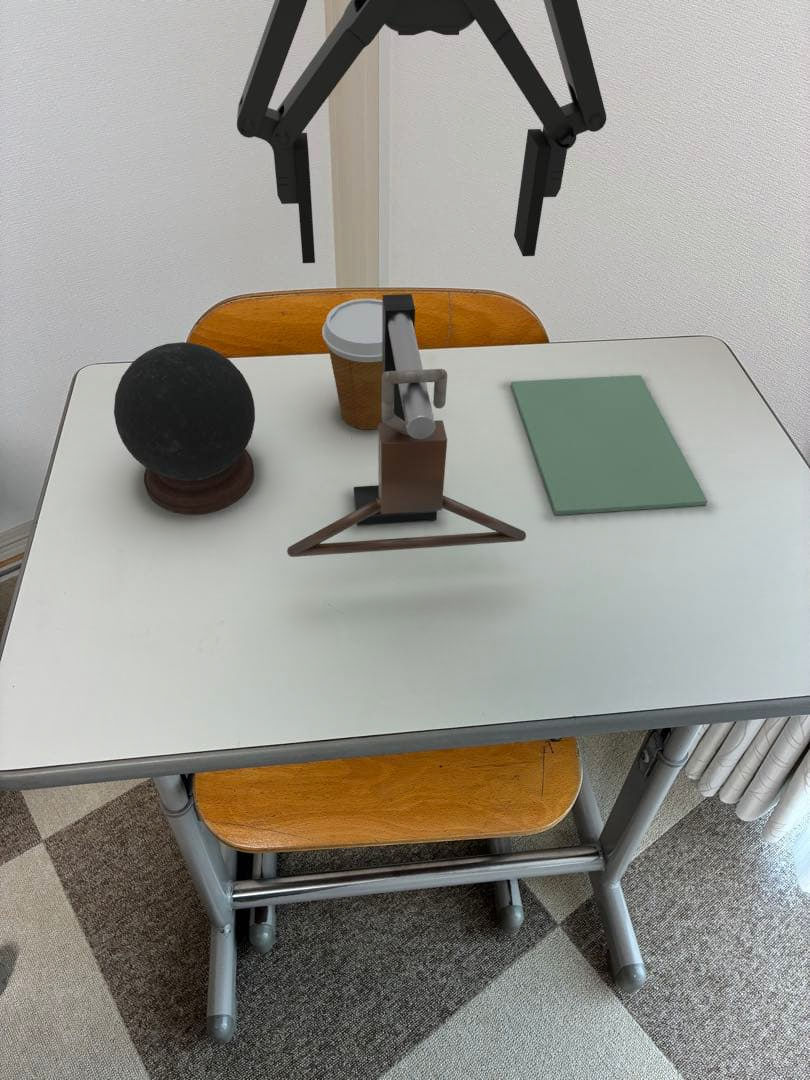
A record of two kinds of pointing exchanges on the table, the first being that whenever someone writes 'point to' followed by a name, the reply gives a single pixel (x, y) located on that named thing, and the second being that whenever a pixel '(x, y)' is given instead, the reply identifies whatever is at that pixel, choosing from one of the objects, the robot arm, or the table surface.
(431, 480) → the hanger
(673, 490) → the mat
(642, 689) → the table surface
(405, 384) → the black and grey stand
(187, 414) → the black ball on stand
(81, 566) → the table surface
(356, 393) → the disposable coffee cup
